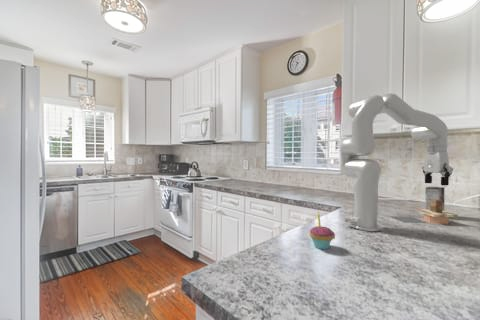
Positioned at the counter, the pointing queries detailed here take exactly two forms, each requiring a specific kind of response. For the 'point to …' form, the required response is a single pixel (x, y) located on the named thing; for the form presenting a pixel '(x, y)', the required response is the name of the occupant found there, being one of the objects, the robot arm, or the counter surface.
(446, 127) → the robot arm
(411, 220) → the mat
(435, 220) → the bowl
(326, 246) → the cupcake
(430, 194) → the coffee box
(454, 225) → the counter surface
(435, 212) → the lid
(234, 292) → the counter surface
